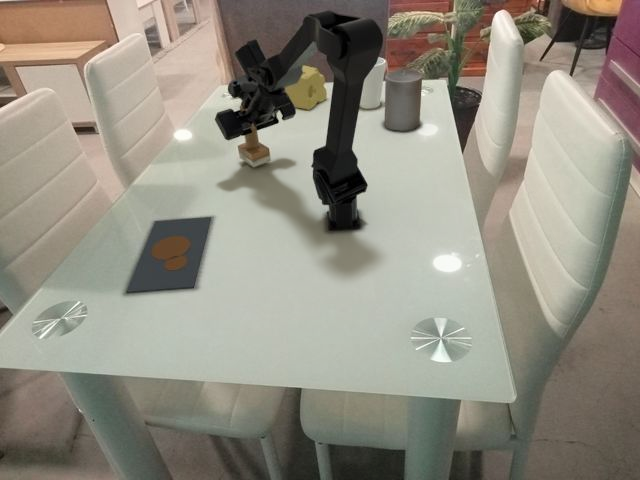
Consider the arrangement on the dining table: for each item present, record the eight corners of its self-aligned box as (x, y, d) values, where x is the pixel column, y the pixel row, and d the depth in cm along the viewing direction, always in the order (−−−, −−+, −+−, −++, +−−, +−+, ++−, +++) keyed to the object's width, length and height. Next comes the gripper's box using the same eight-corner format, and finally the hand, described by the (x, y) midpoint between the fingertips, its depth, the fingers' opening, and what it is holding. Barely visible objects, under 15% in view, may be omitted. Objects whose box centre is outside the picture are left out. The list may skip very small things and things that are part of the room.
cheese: (327, 99, 153) (325, 67, 147) (308, 111, 146) (306, 78, 140) (300, 94, 158) (297, 63, 152) (281, 106, 151) (277, 74, 145)
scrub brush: (270, 160, 119) (263, 106, 111) (253, 167, 117) (244, 112, 109) (256, 151, 124) (247, 99, 115) (239, 158, 122) (229, 104, 113)
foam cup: (350, 102, 150) (348, 59, 142) (377, 97, 151) (377, 54, 144) (361, 112, 142) (360, 68, 134) (389, 107, 144) (390, 63, 136)
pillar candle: (409, 114, 139) (412, 62, 130) (425, 127, 131) (429, 72, 122) (378, 121, 137) (379, 67, 128) (393, 134, 129) (394, 78, 120)
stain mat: (193, 287, 85) (193, 286, 85) (126, 292, 85) (125, 291, 85) (211, 217, 102) (210, 216, 102) (155, 222, 102) (155, 220, 102)
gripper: (283, 56, 108) (264, 92, 122) (209, 77, 99) (198, 114, 113) (307, 99, 107) (285, 130, 121) (234, 124, 99) (220, 154, 113)
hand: (247, 131), depth 117 cm, fingers closed on scrub brush, 3 cm apart
